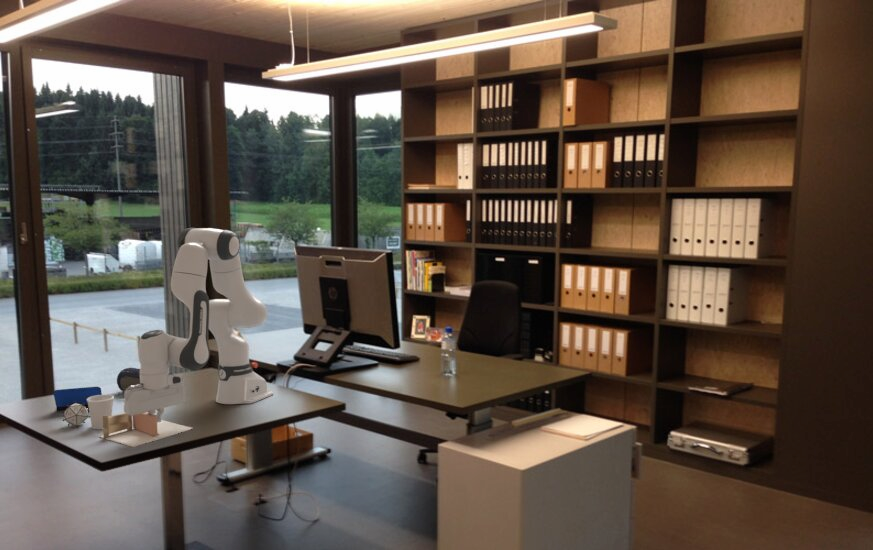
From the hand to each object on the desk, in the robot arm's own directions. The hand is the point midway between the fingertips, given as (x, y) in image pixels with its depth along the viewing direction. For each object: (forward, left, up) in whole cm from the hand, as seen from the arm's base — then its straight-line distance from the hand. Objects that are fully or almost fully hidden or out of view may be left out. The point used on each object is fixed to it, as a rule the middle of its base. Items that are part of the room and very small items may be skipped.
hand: (156, 422), depth 234 cm
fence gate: (+2, -3, -3) cm, 5 cm away
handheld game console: (-4, -50, -4) cm, 50 cm away
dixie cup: (+6, -22, -4) cm, 23 cm away
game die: (+10, -30, -4) cm, 32 cm away
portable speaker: (-28, -47, -4) cm, 55 cm away
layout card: (+2, -3, -4) cm, 5 cm away
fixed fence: (+8, -9, -3) cm, 12 cm away
